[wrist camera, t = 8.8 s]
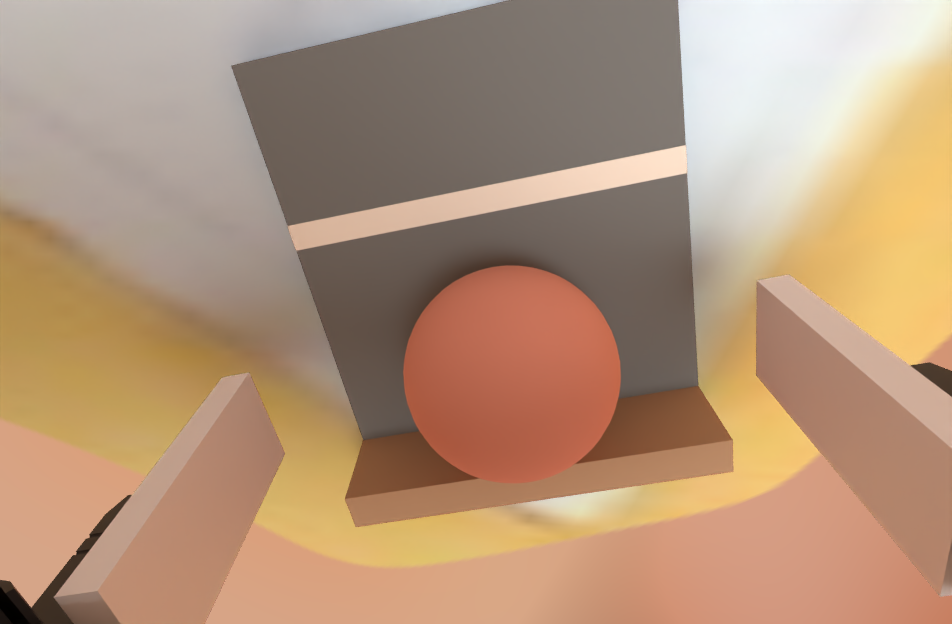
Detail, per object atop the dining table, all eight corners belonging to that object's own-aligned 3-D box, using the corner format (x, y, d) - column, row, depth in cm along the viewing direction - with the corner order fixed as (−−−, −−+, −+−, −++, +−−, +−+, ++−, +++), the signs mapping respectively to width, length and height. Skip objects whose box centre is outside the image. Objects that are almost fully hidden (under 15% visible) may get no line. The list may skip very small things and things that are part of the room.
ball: (397, 257, 18) (353, 346, 12) (588, 221, 17) (631, 298, 12) (440, 415, 20) (420, 547, 15) (610, 388, 20) (654, 517, 14)
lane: (239, 65, 16) (176, 68, 13) (669, -36, 15) (720, -60, 12) (375, 455, 22) (355, 527, 19) (693, 404, 21) (733, 471, 17)
